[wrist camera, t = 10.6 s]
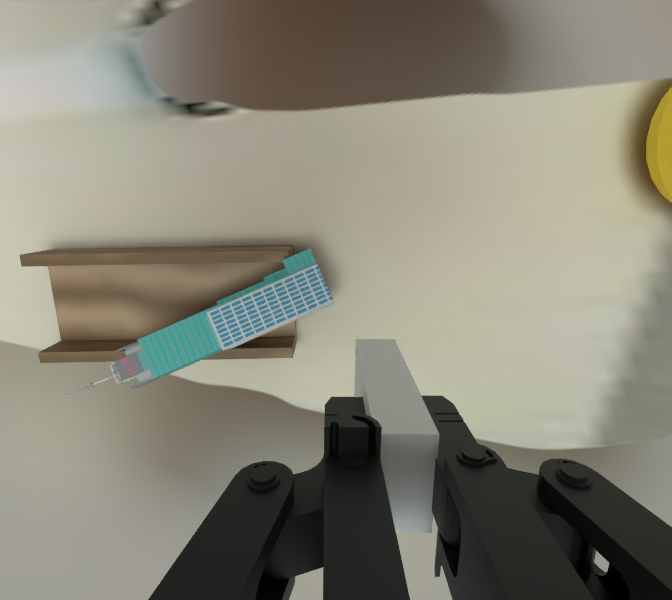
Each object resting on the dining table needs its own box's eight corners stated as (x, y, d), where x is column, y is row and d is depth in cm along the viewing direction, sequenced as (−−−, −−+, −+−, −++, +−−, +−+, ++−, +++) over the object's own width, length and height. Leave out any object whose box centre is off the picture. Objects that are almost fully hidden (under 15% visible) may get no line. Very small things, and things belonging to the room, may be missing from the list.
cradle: (53, 249, 48) (19, 255, 43) (292, 245, 49) (288, 250, 43) (70, 346, 51) (40, 362, 46) (296, 341, 51) (292, 357, 46)
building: (332, 304, 48) (90, 411, 46) (311, 257, 48) (70, 362, 47) (333, 301, 42) (55, 424, 40) (309, 247, 42) (32, 368, 41)
